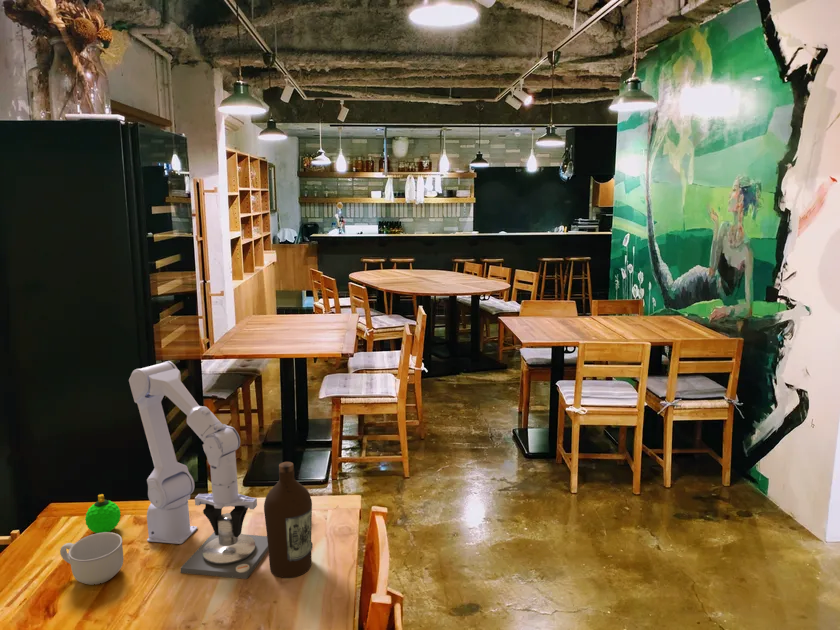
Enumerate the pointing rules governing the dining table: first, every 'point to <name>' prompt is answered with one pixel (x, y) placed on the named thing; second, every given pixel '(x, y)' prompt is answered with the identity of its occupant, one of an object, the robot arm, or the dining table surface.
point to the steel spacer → (226, 530)
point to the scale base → (234, 570)
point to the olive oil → (288, 525)
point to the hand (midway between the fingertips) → (228, 534)
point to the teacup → (95, 557)
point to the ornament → (102, 515)
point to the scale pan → (228, 550)
